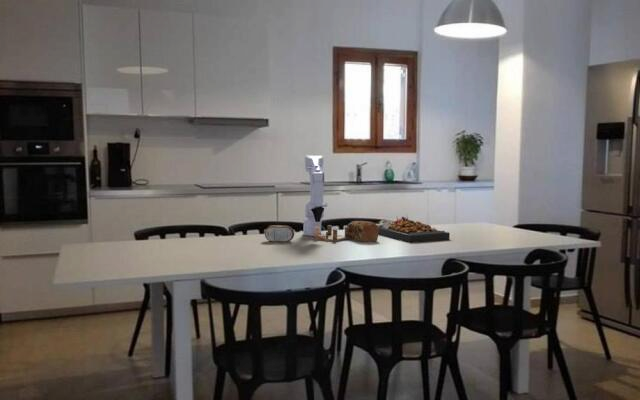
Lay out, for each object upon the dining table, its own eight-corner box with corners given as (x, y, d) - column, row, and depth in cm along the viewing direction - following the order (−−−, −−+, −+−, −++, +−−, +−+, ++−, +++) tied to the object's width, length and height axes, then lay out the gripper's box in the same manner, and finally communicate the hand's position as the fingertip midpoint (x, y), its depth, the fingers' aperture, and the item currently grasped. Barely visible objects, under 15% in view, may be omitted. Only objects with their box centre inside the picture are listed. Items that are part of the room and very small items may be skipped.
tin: (294, 241, 283) (294, 225, 282) (293, 242, 279) (293, 226, 279) (265, 241, 284) (265, 224, 283) (264, 242, 281) (264, 225, 280)
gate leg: (326, 237, 287) (326, 227, 287) (323, 237, 285) (324, 228, 285) (316, 236, 290) (316, 226, 290) (314, 236, 288) (314, 227, 288)
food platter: (366, 232, 320) (366, 214, 319) (402, 230, 330) (402, 212, 329) (409, 244, 279) (410, 223, 278) (449, 241, 290) (449, 221, 289)
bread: (378, 241, 283) (379, 222, 282) (359, 242, 280) (360, 223, 279) (363, 236, 301) (363, 218, 300) (345, 237, 297) (345, 219, 296)
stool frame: (313, 239, 289) (313, 227, 288) (328, 236, 300) (328, 225, 300) (335, 242, 281) (335, 230, 280) (350, 238, 292) (350, 227, 292)
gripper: (315, 196, 275) (315, 223, 276) (332, 195, 286) (332, 220, 288) (304, 196, 279) (304, 222, 280) (321, 194, 291) (321, 219, 292)
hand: (317, 221), depth 284 cm, fingers closed
